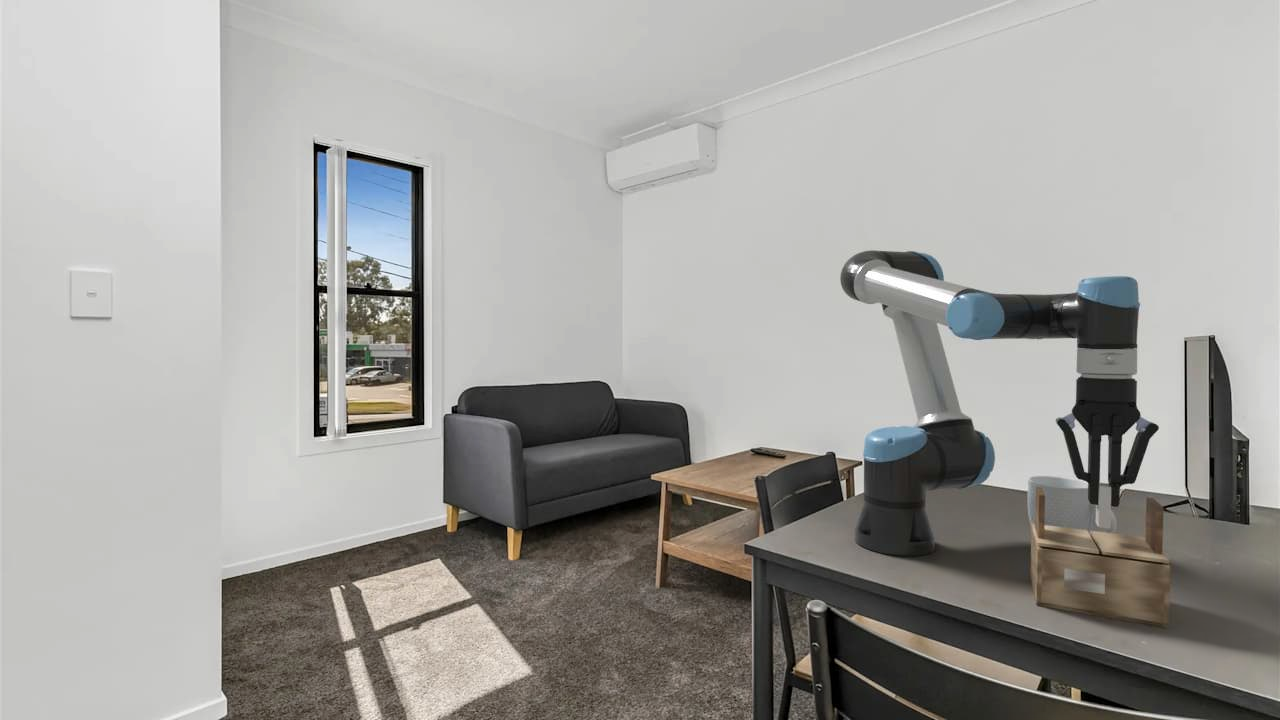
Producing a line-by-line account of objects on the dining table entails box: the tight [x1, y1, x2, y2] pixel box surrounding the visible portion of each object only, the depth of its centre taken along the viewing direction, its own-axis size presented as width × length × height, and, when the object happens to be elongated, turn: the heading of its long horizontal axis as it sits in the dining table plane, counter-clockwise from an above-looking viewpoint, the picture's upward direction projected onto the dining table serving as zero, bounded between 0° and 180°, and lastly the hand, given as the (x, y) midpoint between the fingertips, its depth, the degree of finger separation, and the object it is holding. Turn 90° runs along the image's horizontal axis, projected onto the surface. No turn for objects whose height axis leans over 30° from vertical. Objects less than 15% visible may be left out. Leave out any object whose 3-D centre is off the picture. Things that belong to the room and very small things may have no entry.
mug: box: [1027, 475, 1118, 535], centre depth 120 cm, size 15×11×13 cm
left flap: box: [1032, 487, 1099, 554], centre depth 98 cm, size 8×11×8 cm
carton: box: [1029, 527, 1171, 629], centre depth 96 cm, size 16×12×9 cm
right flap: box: [1090, 497, 1171, 565], centre depth 94 cm, size 8×11×8 cm
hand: (1102, 525), depth 95 cm, fingers closed
